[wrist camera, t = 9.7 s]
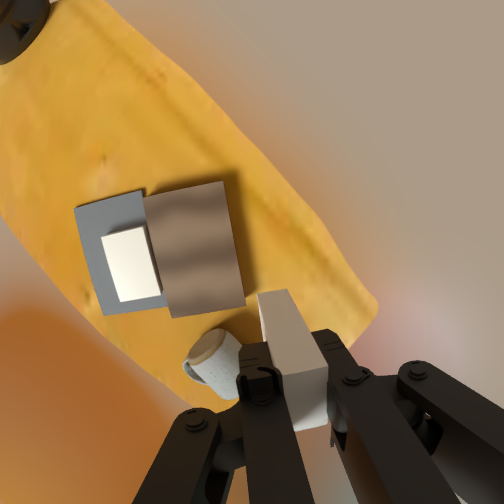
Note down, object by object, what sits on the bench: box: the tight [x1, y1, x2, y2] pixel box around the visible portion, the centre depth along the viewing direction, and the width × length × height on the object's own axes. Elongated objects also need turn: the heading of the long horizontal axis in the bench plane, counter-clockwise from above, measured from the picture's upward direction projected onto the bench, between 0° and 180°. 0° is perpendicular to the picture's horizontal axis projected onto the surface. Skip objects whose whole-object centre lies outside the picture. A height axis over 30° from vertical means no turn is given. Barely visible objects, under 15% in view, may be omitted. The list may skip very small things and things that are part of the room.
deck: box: [142, 181, 246, 318], centre depth 37 cm, size 16×10×2 cm, turn 10°
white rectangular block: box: [101, 224, 164, 302], centre depth 36 cm, size 9×6×2 cm, turn 10°
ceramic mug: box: [183, 328, 242, 400], centre depth 38 cm, size 11×8×8 cm
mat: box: [74, 190, 168, 316], centre depth 37 cm, size 16×10×1 cm, turn 10°
